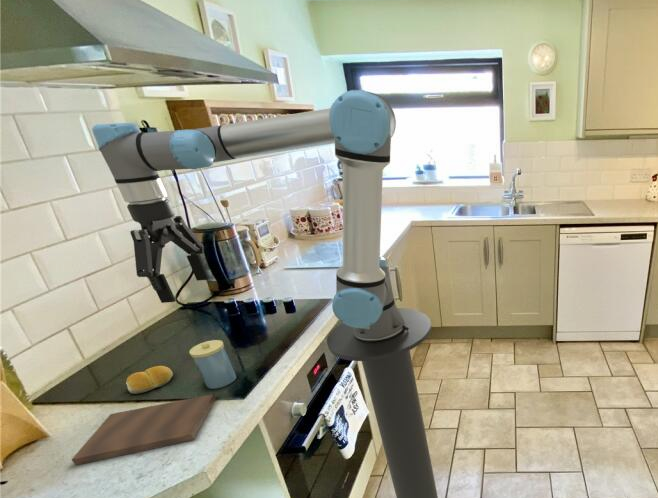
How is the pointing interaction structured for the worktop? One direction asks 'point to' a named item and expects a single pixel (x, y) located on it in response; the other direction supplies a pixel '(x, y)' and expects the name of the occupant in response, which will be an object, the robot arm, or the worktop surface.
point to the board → (146, 429)
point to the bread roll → (148, 379)
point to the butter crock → (213, 363)
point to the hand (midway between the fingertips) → (187, 290)
